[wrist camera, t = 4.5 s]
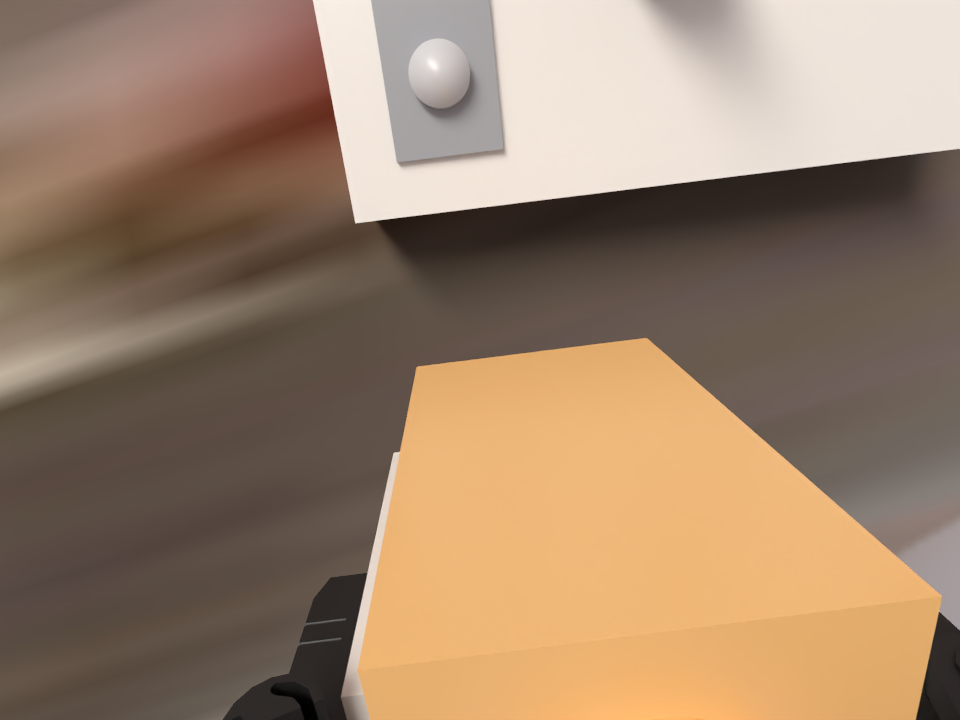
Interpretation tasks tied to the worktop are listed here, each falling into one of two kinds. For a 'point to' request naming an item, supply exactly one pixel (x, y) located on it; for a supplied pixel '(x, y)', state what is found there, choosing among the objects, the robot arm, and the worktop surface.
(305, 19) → the worktop surface
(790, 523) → the orange cube with dome
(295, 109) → the worktop surface
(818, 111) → the block
